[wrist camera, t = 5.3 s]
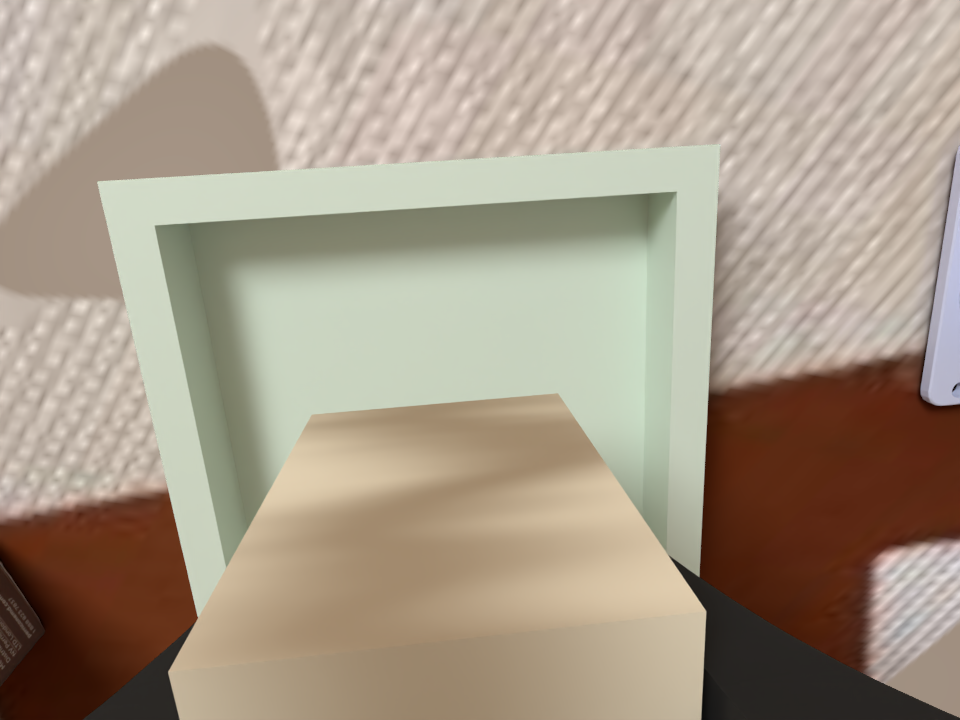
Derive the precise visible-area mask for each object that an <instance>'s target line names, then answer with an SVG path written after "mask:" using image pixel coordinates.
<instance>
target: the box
mask: <svg viewBox="0 0 960 720" xmlns="http://www.w3.org/2000/svg"><path fill="white" fill-rule="evenodd" d="M44 633H45V629H44V628H43V626H42V624H41V622H40V620H39V618H38V616H37V615H36V614H35V612H34V610H33V609H32V607H31V606H30V605H29V603H28V602H27V600H26V599H25V597H24V595H23V594H22V592H21V591H20V590H19V588H18V586H17V585H16V584H15V582H14V580H13V579H12V577H11V575H10V574H9V573H8V572H7V571H6V569H5V568H4V566H3V564H2V562H1V561H0V686H1V685H2V684H3V683H4V682H5V680H6V679H7V678H8V677H9V676H10V674H11V673H12V672H13V670H14V669H15V668H16V666H17V665H18V664H19V663H20V662H21V661H22V660H23V658H24V657H25V656H26V655H27V653H28V652H29V651H30V650H31V649H32V648H33V646H34V645H35V643H36V642H37V641H38V640H39V639H40V638H41V637H42V636H43V634H44Z"/></svg>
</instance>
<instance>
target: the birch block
mask: <svg viewBox="0 0 960 720" xmlns="http://www.w3.org/2000/svg"><path fill="white" fill-rule="evenodd" d="M705 628H706V610H705V609H704V607H703V606H702V604H701V603H700V601H699V600H698V598H697V597H696V595H695V594H694V593H693V591H692V590H691V588H690V587H689V585H688V584H687V582H686V581H685V579H684V578H683V576H682V575H681V573H680V572H679V570H678V569H677V568H676V566H675V565H674V563H673V562H672V560H671V559H670V557H669V556H668V554H667V553H666V551H665V550H664V548H663V547H662V545H661V544H660V543H659V541H658V540H657V538H656V537H655V535H654V534H653V532H652V531H651V529H650V528H649V526H648V525H647V523H646V522H645V520H644V519H643V518H642V516H641V515H640V513H639V512H638V510H637V509H636V507H635V506H634V504H633V503H632V501H631V500H630V498H629V497H628V495H627V494H626V493H625V491H624V490H623V488H622V487H621V485H620V484H619V482H618V481H617V479H616V478H615V476H614V475H613V473H612V472H611V470H610V469H609V468H608V466H607V465H606V463H605V462H604V460H603V459H602V457H601V456H600V454H599V453H598V451H597V450H596V448H595V447H594V446H593V444H592V443H591V441H590V440H589V438H588V437H587V435H586V434H585V432H584V431H583V429H582V428H581V426H580V425H579V423H578V422H577V421H576V419H575V418H574V416H573V415H572V413H571V412H570V410H569V409H568V407H567V406H566V404H565V403H564V401H563V400H562V398H561V397H560V396H559V394H558V393H556V394H544V395H532V396H521V397H509V398H498V399H486V400H475V401H463V402H452V403H440V404H429V405H417V406H406V407H394V408H383V409H371V410H360V411H348V412H337V413H325V414H313V415H311V417H310V419H309V421H308V422H307V424H306V426H305V428H304V430H303V431H302V433H301V435H300V437H299V439H298V440H297V442H296V444H295V446H294V447H293V449H292V451H291V453H290V455H289V456H288V458H287V460H286V462H285V464H284V465H283V467H282V469H281V471H280V473H279V474H278V476H277V478H276V480H275V482H274V483H273V485H272V487H271V489H270V490H269V492H268V494H267V496H266V498H265V499H264V501H263V503H262V505H261V507H260V508H259V510H258V512H257V514H256V516H255V517H254V519H253V521H252V523H251V524H250V526H249V528H248V530H247V532H246V533H245V535H244V537H243V539H242V541H241V542H240V544H239V546H238V548H237V550H236V551H235V553H234V555H233V557H232V559H231V560H230V562H229V564H228V566H227V567H226V569H225V571H224V573H223V575H222V576H221V578H220V580H219V582H218V584H217V585H216V587H215V589H214V591H213V593H212V594H211V596H210V598H209V600H208V602H207V603H206V605H205V607H204V609H203V610H202V612H201V614H200V616H199V618H198V619H197V621H196V623H195V625H194V627H193V628H192V630H191V632H190V634H189V636H188V637H187V639H186V641H185V643H184V645H183V646H182V648H181V650H180V652H179V653H178V655H177V657H176V659H175V661H174V662H173V664H172V666H171V668H170V670H169V671H168V674H169V678H170V682H171V686H172V690H173V694H174V698H175V702H176V707H177V711H178V715H179V719H180V720H701V713H702V692H703V670H704V649H705Z"/></svg>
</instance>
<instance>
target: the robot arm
mask: <svg viewBox="0 0 960 720" xmlns="http://www.w3.org/2000/svg"><path fill="white" fill-rule="evenodd" d="M956 384H957V387H956V389H955V390H954V391H953V392H952V389H953V387H954V386H955V385H956ZM920 390H921V396H922V398H923V399H924V400H925V401H927V402H929V403H931V404H933V405H937V406H946V405H957V404H960V146H959V148H958V151H957V155H956V162H955V168H954V175H953V181H952V188H951V194H950V201H949V207H948V214H947V220H946V226H945V233H944V239H943V246H942V252H941V259H940V265H939V272H938V278H937V285H936V291H935V298H934V304H933V311H932V317H931V324H930V330H929V337H928V343H927V350H926V356H925V363H924V369H923V376H922V382H921V389H920ZM668 556H669V555H668ZM669 557H670V559H671V560H672V562H673V563H674V565H675V566H676V568H677V569H678V570H679V572H680V573H681V575H682V576H683V578H684V579H685V581H686V582H687V584H688V585H689V587H690V588H691V590H692V591H693V593H694V594H695V595H696V597H697V598H698V600H699V601H700V603H701V604H702V606H703V607H704V609H705V610H706V628H705V649H704V670H703V692H702V713H701V720H960V718H959V717H956V716H954V715H952V714H949V713H947V712H945V711H942V710H940V709H938V708H936V707H933V706H931V705H929V704H927V703H925V702H922V701H920V700H918V699H916V698H914V697H912V696H909V695H907V694H905V693H903V692H901V691H898V690H896V689H894V688H892V687H890V686H887V685H885V684H883V683H881V682H879V681H877V680H875V679H873V678H871V677H869V676H867V675H865V674H863V673H861V672H859V671H857V670H854V669H852V668H850V667H849V666H847V665H845V664H843V663H841V662H839V661H837V660H835V659H833V658H832V657H830V656H828V655H826V654H824V653H822V652H820V651H819V650H817V649H815V648H813V647H811V646H809V645H807V644H806V643H804V642H802V641H800V640H798V639H796V638H795V637H793V636H791V635H789V634H788V633H786V632H784V631H782V630H781V629H779V628H777V627H776V626H774V625H772V624H771V623H769V622H767V621H766V620H764V619H763V618H761V617H759V616H758V615H756V614H755V613H753V612H751V611H750V610H748V609H747V608H745V607H743V606H742V605H740V604H739V603H737V602H735V601H734V600H732V599H731V598H729V597H728V596H726V595H725V594H723V593H722V592H720V591H719V590H717V589H716V588H714V587H713V586H711V585H710V584H708V583H707V582H706V581H704V580H703V579H701V578H700V577H698V576H697V575H696V574H694V573H693V572H691V571H690V570H688V569H687V568H686V567H684V566H683V565H682V564H680V563H679V562H677V561H676V560H675V559H673V558H672V557H671V556H669ZM195 623H196V622H195ZM195 623H194V624H193V625H192V626H191V627H190V628H189V629H188V630H187V631H186V632H185V633H184V634H182V635H181V636H180V637H179V638H178V639H177V640H176V641H175V642H174V643H172V644H171V645H170V646H169V647H168V648H167V649H166V650H164V651H163V652H162V653H161V654H160V655H159V656H158V657H156V658H155V659H154V660H153V661H152V662H151V663H150V664H148V665H147V666H146V667H145V668H144V669H143V670H142V671H140V672H139V673H138V674H137V675H136V676H135V677H134V678H132V679H131V680H130V681H129V682H128V683H127V684H126V685H124V686H123V687H122V688H121V689H120V690H119V691H118V692H116V693H115V694H114V695H113V696H111V697H110V698H109V699H108V700H107V701H105V702H104V703H103V704H102V705H101V706H99V707H98V708H97V709H95V710H94V711H93V712H92V713H90V714H89V715H88V716H87V717H85V718H84V719H83V720H180V719H179V715H178V711H177V707H176V702H175V698H174V694H173V690H172V686H171V682H170V678H169V674H168V671H169V670H170V668H171V666H172V664H173V662H174V661H175V659H176V657H177V655H178V653H179V652H180V650H181V648H182V646H183V645H184V643H185V641H186V639H187V637H188V636H189V634H190V632H191V630H192V628H193V627H194V625H195Z"/></svg>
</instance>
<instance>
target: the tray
mask: <svg viewBox="0 0 960 720" xmlns="http://www.w3.org/2000/svg"><path fill="white" fill-rule="evenodd" d="M719 163H720V144H713V145H697V146H680V147H663V148H647V149H630V150H613V151H597V152H580V153H563V154H547V155H530V156H514V157H497V158H480V159H464V160H447V161H430V162H414V163H397V164H380V165H364V166H347V167H330V168H314V169H297V170H280V171H264V172H247V173H231V174H214V175H197V176H181V177H165V178H147V179H133V180H132V179H131V180H114V181H98V182H97V183H98V188H99V192H100V196H101V201H102V205H103V209H104V213H105V218H106V222H107V227H108V231H109V235H110V239H111V244H112V248H113V252H114V257H115V261H116V265H117V270H118V274H119V278H120V283H121V287H122V291H123V296H124V300H125V304H126V309H127V313H128V317H129V322H130V326H131V330H132V335H133V339H134V343H135V348H136V352H137V356H138V361H139V365H140V369H141V374H142V378H143V382H144V386H145V391H146V395H147V399H148V404H149V408H150V412H151V417H152V421H153V425H154V430H155V434H156V438H157V443H158V447H159V451H160V456H161V460H162V464H163V469H164V473H165V477H166V482H167V486H168V490H169V495H170V499H171V503H172V508H173V512H174V516H175V521H176V525H177V529H178V533H179V538H180V542H181V546H182V551H183V555H184V559H185V564H186V568H187V572H188V577H189V581H190V585H191V590H192V594H193V598H194V603H195V607H196V611H197V616H198V618H199V616H200V614H201V612H202V610H203V609H204V607H205V605H206V603H207V602H208V600H209V598H210V596H211V594H212V593H213V591H214V589H215V587H216V585H217V584H218V582H219V580H220V578H221V576H222V575H223V573H224V571H225V569H226V567H227V566H228V564H229V562H230V560H231V559H232V557H233V555H234V553H235V551H236V550H237V548H238V546H239V544H240V542H241V541H242V539H243V537H244V535H245V533H246V532H247V530H248V528H249V526H250V524H251V523H252V521H253V519H254V517H255V516H256V514H257V512H258V510H259V508H260V507H261V505H262V503H263V501H264V499H265V498H266V496H267V494H268V492H269V490H270V489H271V487H272V485H273V483H274V482H275V480H276V478H277V476H278V474H279V473H280V471H281V469H282V467H283V465H284V464H285V462H286V460H287V458H288V456H289V455H290V453H291V451H292V449H293V447H294V446H295V444H296V442H297V440H298V439H299V437H300V435H301V433H302V431H303V430H304V428H305V426H306V424H307V422H308V421H309V419H310V417H311V415H313V414H325V413H337V412H348V411H360V410H371V409H383V408H394V407H406V406H417V405H429V404H440V403H452V402H463V401H475V400H486V399H498V398H509V397H521V396H532V395H544V394H556V393H558V394H559V396H560V397H561V398H562V400H563V401H564V403H565V404H566V406H567V407H568V409H569V410H570V412H571V413H572V415H573V416H574V418H575V419H576V421H577V422H578V423H579V425H580V426H581V428H582V429H583V431H584V432H585V434H586V435H587V437H588V438H589V440H590V441H591V443H592V444H593V446H594V447H595V448H596V450H597V451H598V453H599V454H600V456H601V457H602V459H603V460H604V462H605V463H606V465H607V466H608V468H609V469H610V470H611V472H612V473H613V475H614V476H615V478H616V479H617V481H618V482H619V484H620V485H621V487H622V488H623V490H624V491H625V493H626V494H627V495H628V497H629V498H630V500H631V501H632V503H633V504H634V506H635V507H636V509H637V510H638V512H639V513H640V515H641V516H642V518H643V519H644V520H645V522H646V523H647V525H648V526H649V528H650V529H651V531H652V532H653V534H654V535H655V537H656V538H657V540H658V541H659V543H660V544H661V545H662V547H663V548H664V550H665V551H666V553H667V554H668V555H669V556H671V557H672V558H673V559H675V560H676V561H677V562H679V563H680V564H682V565H683V566H684V567H686V568H687V569H688V570H690V571H691V572H693V573H694V574H696V575H697V576H698V577H699V575H700V554H701V533H702V513H703V492H704V472H705V451H706V431H707V410H708V390H709V369H710V348H711V328H712V307H713V287H714V266H715V246H716V225H717V205H718V184H719Z"/></svg>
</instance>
